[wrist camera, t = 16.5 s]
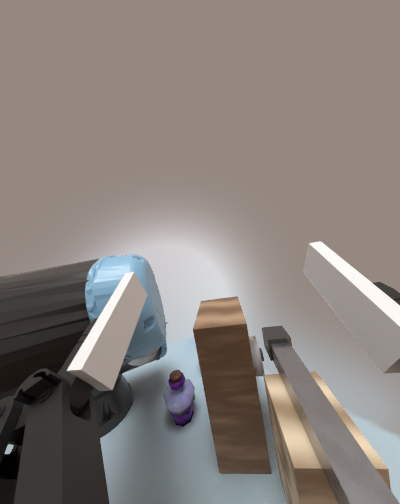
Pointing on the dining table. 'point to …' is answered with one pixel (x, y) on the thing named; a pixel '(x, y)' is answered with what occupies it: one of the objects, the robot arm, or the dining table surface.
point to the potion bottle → (180, 398)
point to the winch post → (231, 386)
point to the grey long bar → (326, 429)
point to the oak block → (306, 446)
